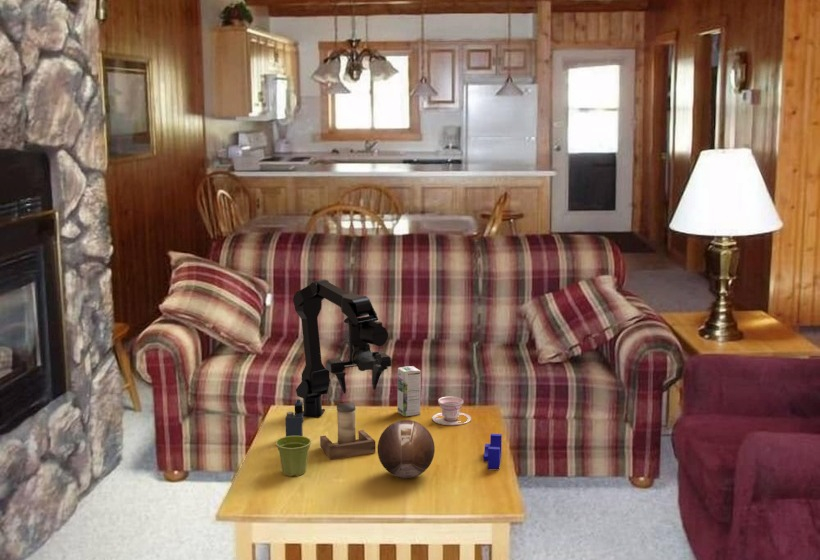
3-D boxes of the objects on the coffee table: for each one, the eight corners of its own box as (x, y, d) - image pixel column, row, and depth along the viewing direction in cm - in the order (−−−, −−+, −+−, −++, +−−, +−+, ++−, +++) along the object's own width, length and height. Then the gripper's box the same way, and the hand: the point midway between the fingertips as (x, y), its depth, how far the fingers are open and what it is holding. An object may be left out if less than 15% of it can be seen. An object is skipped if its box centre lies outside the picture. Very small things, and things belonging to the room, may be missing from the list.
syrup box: (396, 411, 317) (396, 367, 314) (413, 409, 320) (413, 365, 317) (404, 417, 312) (403, 372, 309) (421, 414, 315) (421, 369, 312)
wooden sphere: (385, 489, 256) (384, 433, 254) (372, 468, 271) (371, 415, 268) (441, 483, 260) (441, 428, 257) (425, 462, 275) (425, 410, 272)
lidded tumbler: (344, 441, 289) (343, 401, 286) (359, 445, 286) (358, 404, 284) (334, 447, 284) (333, 407, 282) (349, 450, 282) (348, 410, 279)
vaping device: (303, 440, 292) (302, 401, 290) (285, 440, 292) (284, 401, 290) (304, 437, 295) (303, 398, 292) (286, 437, 295) (285, 398, 292)
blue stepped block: (485, 453, 281) (485, 433, 280) (501, 454, 281) (501, 433, 280) (482, 469, 270) (482, 448, 269) (499, 470, 269) (499, 449, 268)
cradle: (320, 447, 287) (320, 436, 286) (363, 441, 291) (363, 429, 291) (331, 459, 278) (331, 447, 277) (375, 452, 282) (375, 441, 282)
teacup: (427, 415, 314) (427, 396, 313) (463, 411, 317) (463, 393, 316) (438, 428, 303) (438, 408, 301) (476, 424, 306) (476, 404, 305)
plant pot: (319, 470, 270) (318, 439, 268) (296, 482, 262) (295, 450, 260) (292, 463, 275) (291, 433, 273) (269, 474, 267) (268, 443, 266)
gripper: (336, 349, 282) (337, 403, 285) (398, 342, 289) (399, 394, 292) (324, 340, 292) (325, 392, 295) (384, 334, 299) (385, 384, 302)
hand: (359, 391), depth 295 cm, fingers open, 9 cm apart
